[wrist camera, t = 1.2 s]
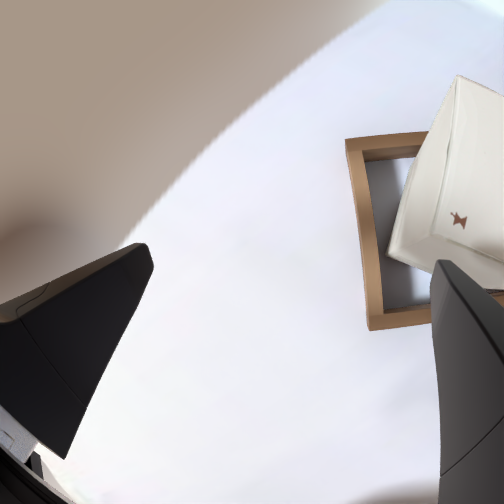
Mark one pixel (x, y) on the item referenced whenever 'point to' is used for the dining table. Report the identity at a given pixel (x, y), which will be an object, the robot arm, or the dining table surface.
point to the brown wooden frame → (356, 156)
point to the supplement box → (457, 189)
